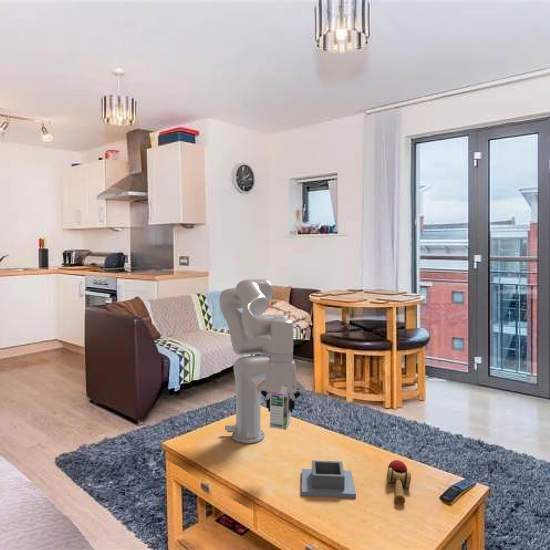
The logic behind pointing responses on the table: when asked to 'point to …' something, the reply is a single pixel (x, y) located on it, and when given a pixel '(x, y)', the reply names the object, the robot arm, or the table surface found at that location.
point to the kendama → (398, 479)
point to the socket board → (327, 480)
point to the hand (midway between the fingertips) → (280, 410)
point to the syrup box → (280, 409)
